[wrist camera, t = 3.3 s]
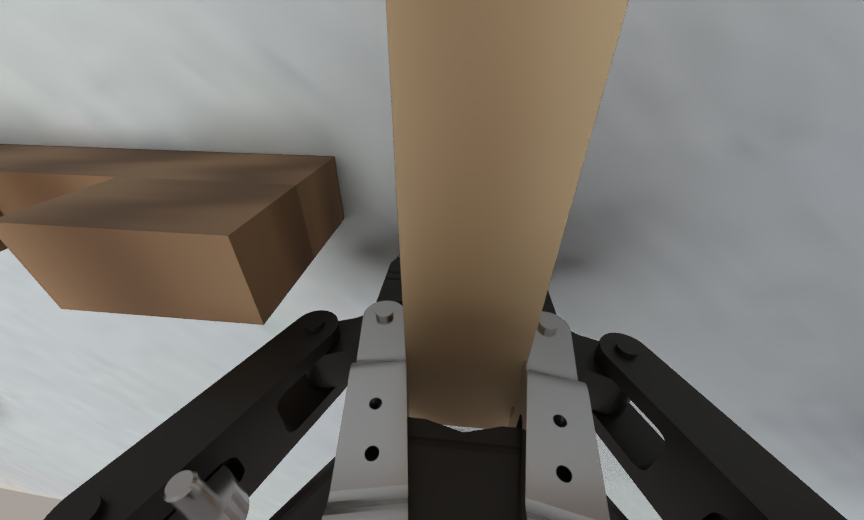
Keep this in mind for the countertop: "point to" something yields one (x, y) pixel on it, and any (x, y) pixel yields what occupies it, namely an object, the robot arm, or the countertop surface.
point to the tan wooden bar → (486, 182)
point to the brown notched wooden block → (166, 227)
